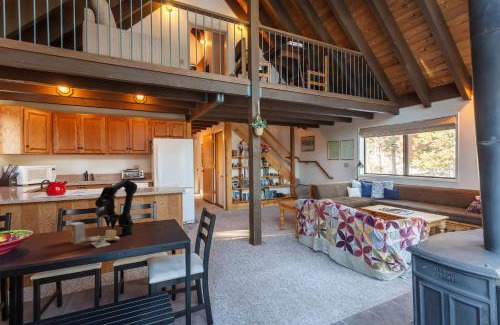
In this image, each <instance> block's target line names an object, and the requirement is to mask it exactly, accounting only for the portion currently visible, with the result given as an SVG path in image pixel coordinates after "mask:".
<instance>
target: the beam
mask: <svg viewBox="0 0 500 325" xmlns="http://www.w3.org/2000/svg"><path fill="white" fill-rule="evenodd" d="M102 238H104V240H105V241H113V240H114V241H115V240H117V241H118V240H120V237H119V236H118V235H116V237H115V238H107V237H105V235H104V236H103V235H102V236H101V235H100V237H97V236H85V237H80V239H81V240H82V241H85V242H90V241H91V242H93V241H94V242H96V241H97V240H102Z"/></svg>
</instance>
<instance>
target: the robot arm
mask: <svg viewBox="0 0 500 325" xmlns="http://www.w3.org/2000/svg"><path fill="white" fill-rule="evenodd" d="M122 188H124V192H125V198H124V199H125V200H124V204H123V209H122V213H121V214H118V213H116V211H115V210H116V208H117V206H116V205H115V202H116V200H115V198H117V196H116V194H118V191H119V190H121V189H122ZM137 190H138V185H137V184H136V183H135V182H133V181H131V180H130V179H121V180H120V181H119V182H116V183H114V184H113V185H108V186H104V187H103V189H102V191H101V193H100V195H99V196H98V197H97V199H96V200H95V201H94V204H95V207H96V208H97V209H98V208H103V209H100V210H97V211H96V212H95V216H96V218H103V219H104V221H105V223H106V227H110V228H111V230H114V229H115V227H116V224H117V223H118V227H120V235H121V236H123V237H125V236H129V235H132V234H133V233H132V227H133V226H134V221H133V220H132V215H131V208H132V204H133V197H134V195H135V194H136V192H137Z"/></svg>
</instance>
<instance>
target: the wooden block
mask: <svg viewBox="0 0 500 325" xmlns="http://www.w3.org/2000/svg"><path fill="white" fill-rule="evenodd" d="M117 231H118V230H116V229H106V231H105V235H104V236H105V237H107V238H115V237H116V236H117Z"/></svg>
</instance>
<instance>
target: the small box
mask: <svg viewBox="0 0 500 325" xmlns="http://www.w3.org/2000/svg"><path fill="white" fill-rule="evenodd" d="M68 225H69V226H68V228H69V233H68V234H69V236H68V237H69V238H68V239H69V242H68V243H71V244H75V245H77V243H78V244H82V243H85V242H86V241H82V240H81V239H80V237H86V224H85V222H82V221H75V222H71V223H69V224H68ZM81 242H82V243H81Z"/></svg>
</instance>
